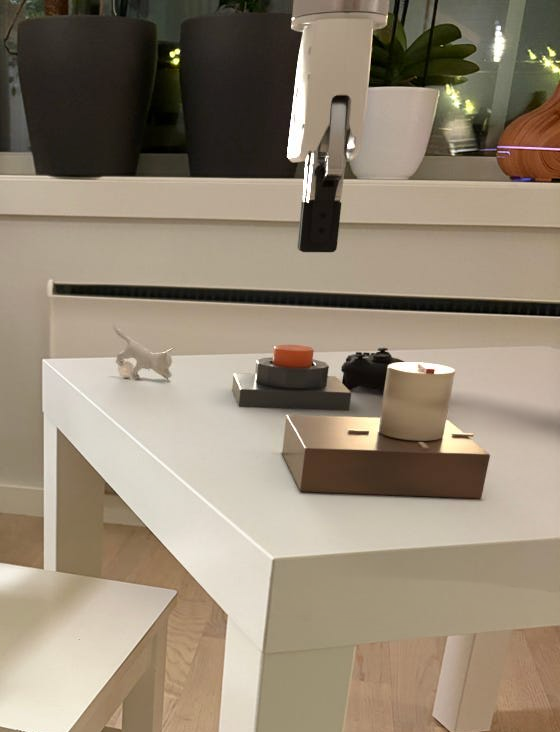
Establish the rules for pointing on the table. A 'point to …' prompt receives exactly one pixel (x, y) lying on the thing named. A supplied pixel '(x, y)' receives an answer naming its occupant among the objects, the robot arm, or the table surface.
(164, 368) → the beige animal figurine
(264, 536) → the table surface
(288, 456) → the panel
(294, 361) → the button
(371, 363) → the game controller
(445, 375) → the dial
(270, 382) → the button block
